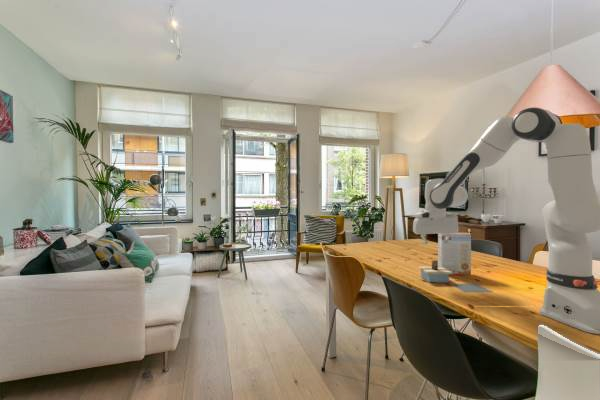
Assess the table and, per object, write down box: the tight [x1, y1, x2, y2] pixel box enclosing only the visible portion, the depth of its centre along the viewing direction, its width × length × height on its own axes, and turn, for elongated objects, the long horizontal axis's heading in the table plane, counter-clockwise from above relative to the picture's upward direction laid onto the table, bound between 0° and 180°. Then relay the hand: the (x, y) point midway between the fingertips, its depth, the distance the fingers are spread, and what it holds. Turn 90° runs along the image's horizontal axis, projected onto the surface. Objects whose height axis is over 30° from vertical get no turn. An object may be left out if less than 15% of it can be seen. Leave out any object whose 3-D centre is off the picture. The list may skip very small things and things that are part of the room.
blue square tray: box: [420, 270, 450, 284], centre depth 142 cm, size 9×9×4 cm
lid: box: [418, 259, 452, 274], centre depth 142 cm, size 11×11×5 cm
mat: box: [450, 282, 493, 294], centre depth 131 cm, size 12×12×1 cm
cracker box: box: [437, 232, 472, 276], centre depth 154 cm, size 14×6×21 cm, turn 85°
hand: (435, 243), depth 142 cm, fingers open, 8 cm apart
